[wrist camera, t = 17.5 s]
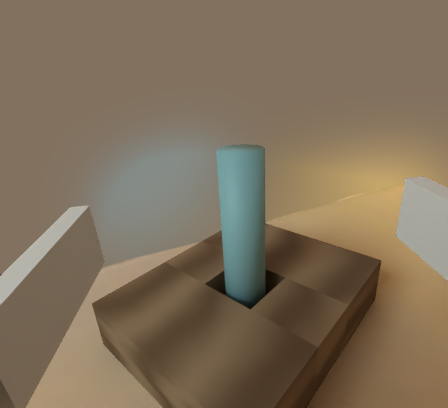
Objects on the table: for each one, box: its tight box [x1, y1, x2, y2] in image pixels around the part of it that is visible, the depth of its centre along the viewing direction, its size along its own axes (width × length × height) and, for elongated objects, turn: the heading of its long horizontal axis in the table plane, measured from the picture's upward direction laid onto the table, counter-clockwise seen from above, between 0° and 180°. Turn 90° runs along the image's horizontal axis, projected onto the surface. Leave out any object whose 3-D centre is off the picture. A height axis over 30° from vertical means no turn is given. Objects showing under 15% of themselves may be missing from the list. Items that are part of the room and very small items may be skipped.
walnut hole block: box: [92, 224, 381, 408], centre depth 27 cm, size 16×20×4 cm
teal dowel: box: [216, 145, 266, 309], centre depth 25 cm, size 4×4×16 cm
